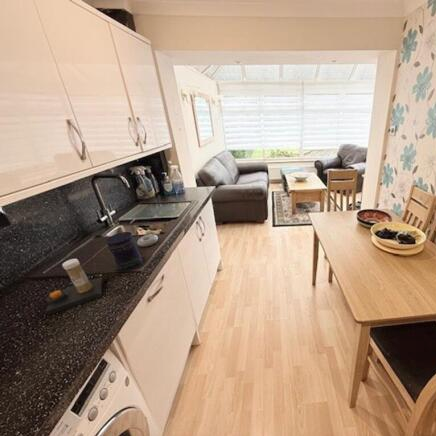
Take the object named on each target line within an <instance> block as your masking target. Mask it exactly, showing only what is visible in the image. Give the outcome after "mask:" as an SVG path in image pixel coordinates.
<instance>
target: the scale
mask: <svg viewBox="0 0 436 436" xmlns="http://www.w3.org/2000/svg"><path fill="white" fill-rule="evenodd" d="M89 282H90V284H91V285H92V288H91V289H90V290H88V291H87V292H84V293H79V292H78V290H77V288H76V287H75V285H72V286H69V287H67V288H63V289H60V291H61V293H62V295H61V296H59V297H57V298H54V299H52V298H51V297H50V294H49V295H48V296H47V297H46V299H45V302H46V303H47V304H48V305H47V307H46V309H45V313H46V315H47V316H51V315H53V314H56V313H59V312H61V311H65V310H68V309H70V308H73V307H76V306H78V305H82V304H84V303H87V302H90V301H93V300H96V299H98V298H101V297H102V294H103V288H104V284H105V278H104V276H100V277H97V278H94V279H91V280H89Z"/></svg>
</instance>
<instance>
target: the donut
mask: <svg viewBox="0 0 436 436" xmlns="http://www.w3.org/2000/svg"><path fill="white" fill-rule="evenodd" d="M158 241H159V237H158V235H156V234H152V233H151V234H146V235H143V236H141V237H140V238H138V240H137V241H136V245H137V246H139V247H141V248H146V247H150V246H153V245H155V244H157V242H158Z"/></svg>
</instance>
